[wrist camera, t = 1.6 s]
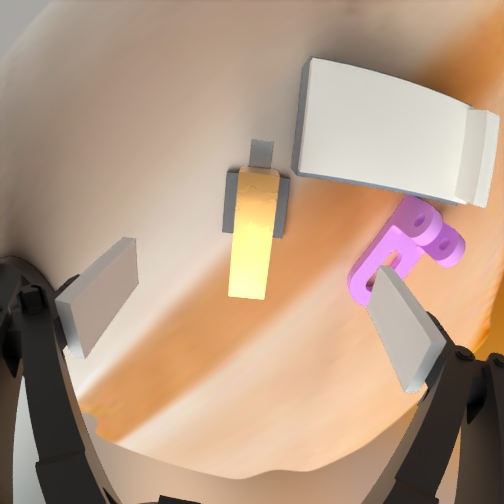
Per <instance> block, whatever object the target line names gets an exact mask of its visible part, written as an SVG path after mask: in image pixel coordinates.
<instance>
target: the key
mask: <svg viewBox="0 0 504 504" xmlns="http://www.w3.org/2000/svg"><path fill="white" fill-rule="evenodd" d="M273 143H274V142H273V141H264V140H254V139H252V143H251V152H250V162H249V167H245V166H242V167H241V169H240V171H239V176H238V187H237V198H236V209H235V221H234V233H233V245H232V257H231V270H230V283H229V296H235V297H245V298H254V299H264V295H265V288H266V280H267V273H268V266H269V258H270V251H271V243H272V236H273V228H274V220H275V212H276V204H277V197H278V188H279V180H280V175H279V172H278V170H273V169H271V161H272V152H273Z"/></svg>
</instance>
